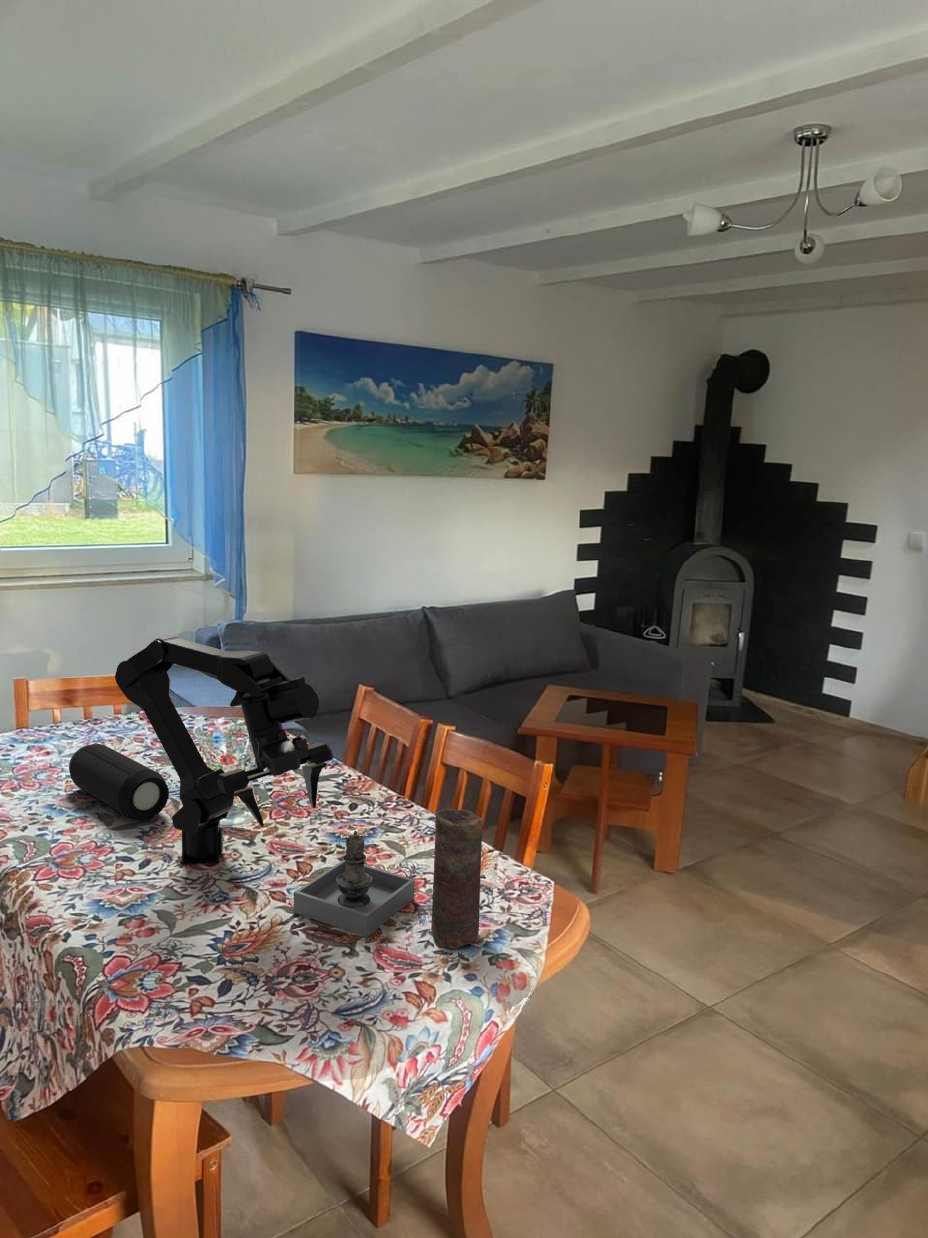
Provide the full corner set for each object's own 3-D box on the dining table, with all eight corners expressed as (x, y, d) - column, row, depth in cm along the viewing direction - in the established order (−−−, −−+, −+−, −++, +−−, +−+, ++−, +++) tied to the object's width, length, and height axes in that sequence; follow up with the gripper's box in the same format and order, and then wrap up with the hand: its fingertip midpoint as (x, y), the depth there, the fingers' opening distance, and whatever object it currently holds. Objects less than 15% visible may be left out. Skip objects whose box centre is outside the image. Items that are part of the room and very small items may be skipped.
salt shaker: (374, 907, 144) (376, 837, 142) (337, 910, 143) (338, 839, 140) (369, 890, 150) (371, 822, 147) (334, 892, 148) (335, 824, 146)
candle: (429, 924, 142) (434, 804, 138) (475, 924, 142) (482, 805, 139) (431, 951, 134) (437, 825, 130) (480, 950, 135) (487, 825, 131)
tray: (293, 912, 143) (293, 892, 143) (344, 877, 156) (345, 858, 155) (366, 937, 137) (367, 916, 136) (414, 899, 149) (414, 879, 149)
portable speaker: (173, 815, 178) (172, 768, 176) (126, 829, 171) (125, 780, 169) (110, 780, 195) (109, 736, 193) (65, 792, 187) (63, 746, 186)
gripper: (220, 745, 139) (245, 842, 139) (331, 711, 147) (355, 803, 148) (206, 743, 149) (230, 833, 149) (311, 711, 157) (333, 797, 158)
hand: (288, 816), depth 151 cm, fingers open, 9 cm apart
